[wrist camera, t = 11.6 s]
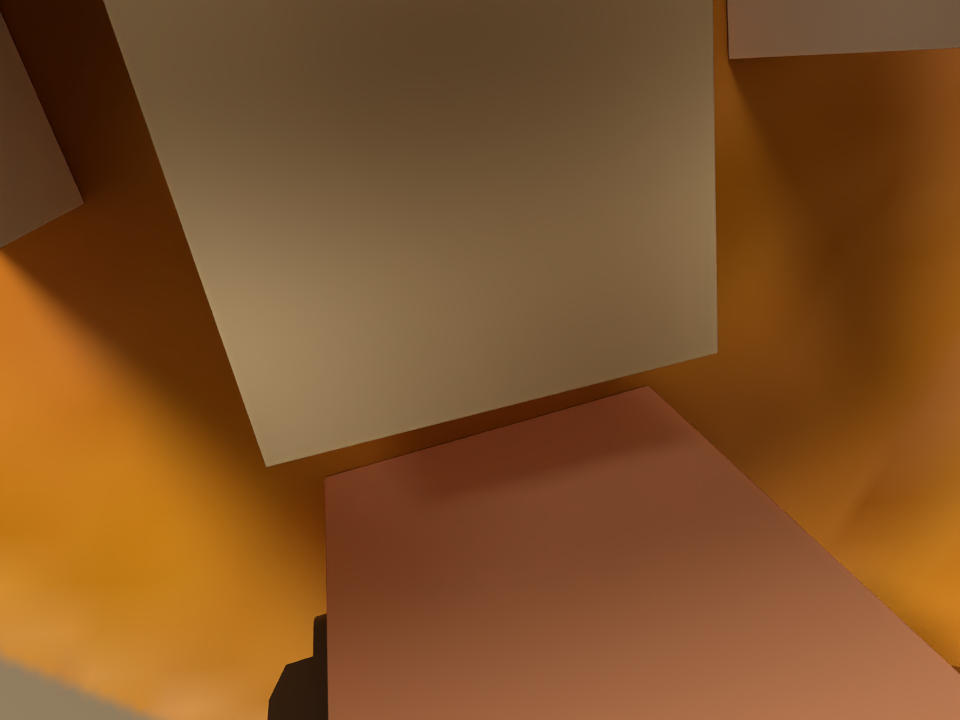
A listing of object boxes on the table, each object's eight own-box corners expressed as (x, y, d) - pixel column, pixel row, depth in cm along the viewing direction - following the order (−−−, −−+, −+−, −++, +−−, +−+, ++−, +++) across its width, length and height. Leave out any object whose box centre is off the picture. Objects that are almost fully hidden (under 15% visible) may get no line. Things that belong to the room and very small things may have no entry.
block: (647, 385, 10) (1016, 725, 5) (671, 624, 12) (947, 1048, 7) (324, 477, 10) (332, 984, 4) (406, 711, 12) (482, 1253, 6)
